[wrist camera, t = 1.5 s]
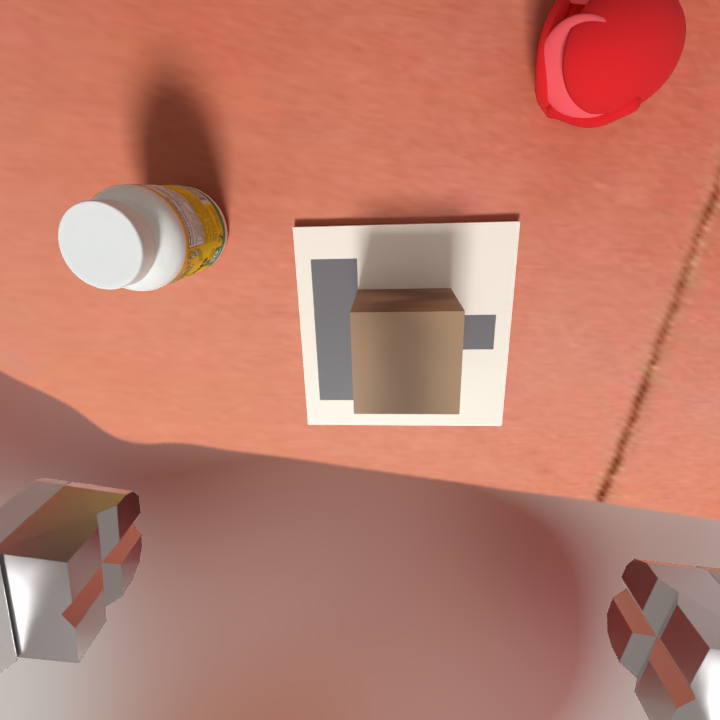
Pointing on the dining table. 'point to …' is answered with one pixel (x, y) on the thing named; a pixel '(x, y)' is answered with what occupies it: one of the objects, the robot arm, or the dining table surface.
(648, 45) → the red rounded lump
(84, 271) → the supplement bottle
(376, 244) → the letter tile
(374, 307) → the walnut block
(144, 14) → the dining table surface
